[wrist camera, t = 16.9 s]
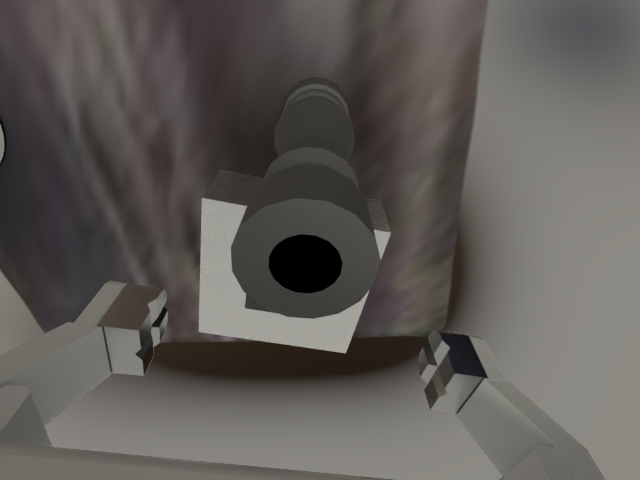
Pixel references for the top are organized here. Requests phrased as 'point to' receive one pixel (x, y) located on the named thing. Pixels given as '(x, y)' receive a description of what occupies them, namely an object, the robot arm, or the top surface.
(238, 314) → the sleeve block
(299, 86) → the candle holder
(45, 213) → the top surface
